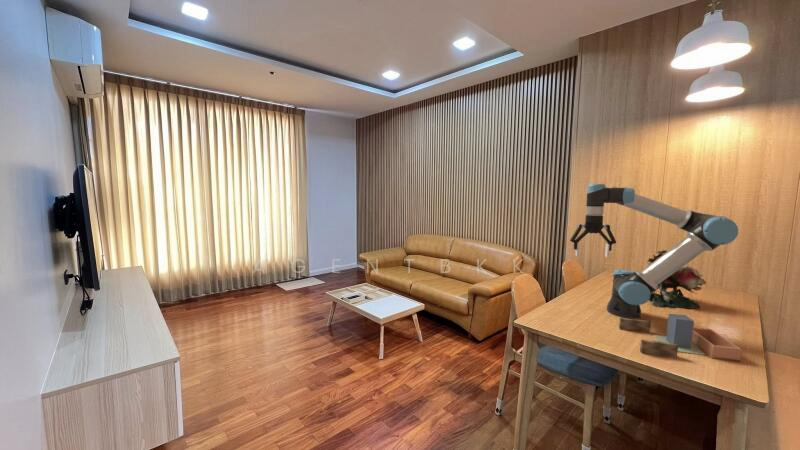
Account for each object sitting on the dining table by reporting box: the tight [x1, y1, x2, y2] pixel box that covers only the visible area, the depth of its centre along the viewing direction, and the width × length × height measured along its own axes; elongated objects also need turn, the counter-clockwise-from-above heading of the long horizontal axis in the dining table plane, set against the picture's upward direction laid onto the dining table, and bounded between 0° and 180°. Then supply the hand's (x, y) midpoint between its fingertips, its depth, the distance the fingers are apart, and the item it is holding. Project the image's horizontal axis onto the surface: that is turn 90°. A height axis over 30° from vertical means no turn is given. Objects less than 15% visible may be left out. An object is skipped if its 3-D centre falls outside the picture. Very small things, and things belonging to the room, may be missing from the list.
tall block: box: [665, 313, 695, 349], centre depth 137 cm, size 6×6×12 cm
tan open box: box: [691, 327, 742, 362], centre depth 135 cm, size 9×18×5 cm, turn 165°
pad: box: [653, 334, 707, 356], centre depth 138 cm, size 12×14×1 cm
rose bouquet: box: [646, 249, 707, 309], centre depth 190 cm, size 26×29×30 cm
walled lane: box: [618, 317, 679, 358], centre depth 141 cm, size 12×24×5 cm, turn 165°
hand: (591, 256), depth 164 cm, fingers open, 13 cm apart
